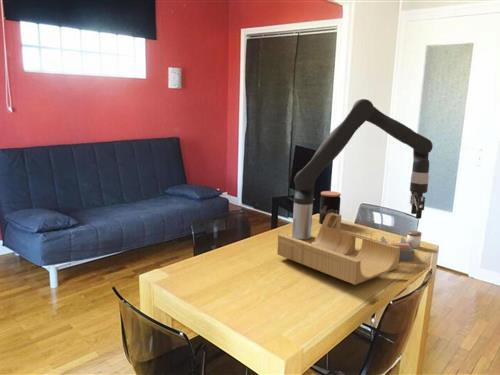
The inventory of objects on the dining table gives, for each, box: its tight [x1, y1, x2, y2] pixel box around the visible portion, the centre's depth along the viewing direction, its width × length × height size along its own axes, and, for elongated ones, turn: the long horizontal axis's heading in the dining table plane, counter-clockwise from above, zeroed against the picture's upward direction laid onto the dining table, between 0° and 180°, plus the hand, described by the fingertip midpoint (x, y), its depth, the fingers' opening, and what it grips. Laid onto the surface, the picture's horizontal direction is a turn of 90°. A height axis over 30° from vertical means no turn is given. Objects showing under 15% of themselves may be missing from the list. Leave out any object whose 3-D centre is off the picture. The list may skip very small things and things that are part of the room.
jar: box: [406, 230, 422, 250], centre depth 203 cm, size 6×6×7 cm
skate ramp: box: [276, 210, 401, 286], centre depth 180 cm, size 40×35×16 cm
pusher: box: [390, 242, 410, 250], centre depth 187 cm, size 7×2×5 cm, turn 84°
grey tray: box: [380, 236, 415, 262], centre depth 193 cm, size 10×19×4 cm, turn 174°
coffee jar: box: [318, 190, 342, 225], centre depth 235 cm, size 11×11×18 cm
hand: (415, 216), depth 201 cm, fingers open, 8 cm apart
